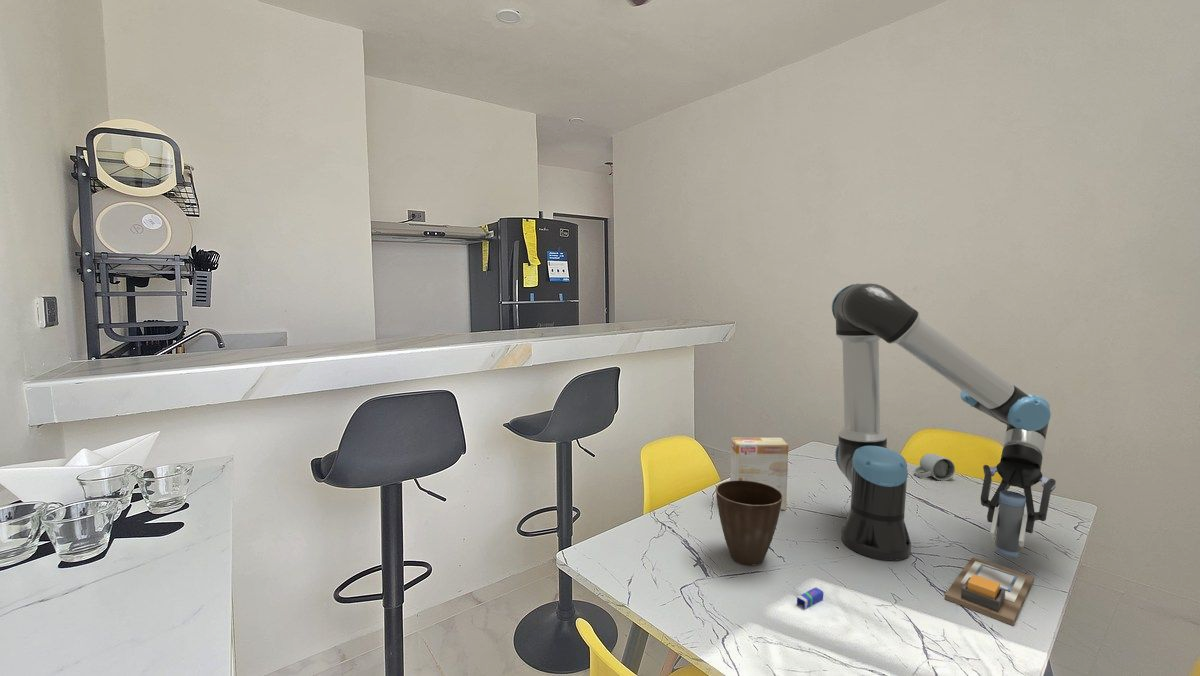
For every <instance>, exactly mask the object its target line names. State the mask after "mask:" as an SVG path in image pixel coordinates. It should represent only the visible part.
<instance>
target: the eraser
mask: <svg viewBox="0 0 1200 676" xmlns="http://www.w3.org/2000/svg"><path fill="white" fill-rule="evenodd" d="M824 594H825V593H824V591H823V590H821V589H819V588H818V587H813V588H811V589H810V590H808V591H805V592H804V593H801V594H800V595H797V596H796V604H797V605H800V604H802V603H803V610H806V609H808V608H810V607H812V606H813V605H814V604H817V603H819V602H821V601H823V600H824ZM818 601H819V602H818ZM816 602H817V603H816Z"/></svg>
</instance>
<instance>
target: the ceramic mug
mask: <svg viewBox="0 0 1200 676" xmlns="http://www.w3.org/2000/svg"><path fill="white" fill-rule="evenodd" d="M920 471H923V472H921V473H918V472H920ZM955 472H956V467H955V463H953V461H952V460H951V459H950V458H947V457H945V456H941V455H939V454H936V453H925V454H924V455H923V456H921V458H920V460H919V466H917V467H915V468H914V469H913V473H914V475H915V477H917V478H928V477H932V478H934V479H935V480H937V481H940V480H941V482H947V481H949V480H950V479H952V478H953V476H954V474H955Z"/></svg>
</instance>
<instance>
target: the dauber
mask: <svg viewBox="0 0 1200 676" xmlns="http://www.w3.org/2000/svg"><path fill="white" fill-rule="evenodd" d="M999 501H1000V502H999V506H998V508H999V514H998V524H997V530H996V535H995V546H996V547H995V552H996V553H997V554H999V555H1001V556H1003V557H1007V558H1011V559H1016V558H1019V555H1020V554H1019V553H1020V551H1021V546H1019V536H1020V531H1021V525H1022V519H1023V515H1024V514H1025V508H1026V496H1025V494H1022V493H1019V492H1015V491H1012V490H1007V491H1000V496H999Z"/></svg>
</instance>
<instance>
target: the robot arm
mask: <svg viewBox="0 0 1200 676" xmlns="http://www.w3.org/2000/svg"><path fill="white" fill-rule="evenodd" d="M831 312H832V315H833V318H834V319H835V336H836V337H837V338H839V339H840V340H841V342H842V372H843V373H842V375H843V376H842V377H843V379H842V380H843V414H844V416H843V420H844V422H843V424H844V427H843V428H842V429H841V430H840V431H839V432H838V443H837V445H836V448H835V450H834V451H835V461H836V462H835V463H836V464H837V466H838V468H839V470H840V472H841V473H842V474H843V475H844V476H845V478H846V479H847V481H848V482H849V483H850V485H851V492H850V493H851V495H850V509H849V512H848V514H847V517H846V518H845V521H844V524H843V526H842V529H841V537H840V539H841V541H842V543H843V544H844V545H845V546H846V547H847V548H849V550H850V549H851V550H852V551H853V552H856V553H858V554H860V555H863V556H866V557H868V558H873V559H876V560H882V561H901V560H906V559H907V558H909V557H910V556H911V553H912V552H911V550H912V542H911V539H910V536H909V532H908V529H907V526H906V523H905V513H906V512H905V509H906V498H907V497H906V496H907V485H908V484H907V482H908V477H909V469H908V462H907V461H906V458H905V457H904V456H903V455H902V454H900V453H899V452H897V451H895V450H891V448H888V443H887V442H888V439H887V438H888V436H887V435H886V433H884V431H882V430H881V411H880V409H881V406H880V405H881V403H880V402H881V401H880V397H881V396H880V395H881V394H880V348H879V347H880V345H879V344H880V343H879V341H880V340H881V339H882V340H883V341H885V342H886V343H888V344H891V345H892V344H896V345H898V346H899V347H900V348H902V349H903V350H904V351H906V352H908V353H909V354H910V355H912V356H913V357H914V358H916V359H918V360H919V361H920V362H921V363H923V364H925V365H926V366H927V367H929V368H930V369H931V370H933V371H934V372H936V373H937V374H939V376H941V377H943V378H944V379H946V380H947V381H949V382H950V383H951V384H953V385H954V386H955V387H957V388H958V389H960V390H961V391H960V398H961V400H962V401H963V402H964V403H966V404H968V405H969V406H970V407H972V408H975V409H976V410H978V411H979V412H982V413H984V414H986V415H988V416H989V417H991V418H993V419H995V420H997V421H999V422H1000V423H1003V424H1004V425H1006V431H1005V437H1004V441H1003V448H1002V451H1001V456H1000V460H999V462H998V463H997V465H996V466H990V465H988V464H984V465H983V466H982V468H983V470H982V471H983V474H984V478H983V482H982V488H981V495H980V504H981V506H983V507H986V508H988V510H987V515H986V518H987V520H986V521H987V522H988V523H991V527H990V531H989V534H990V535H989V537H990V538H991V539H994V540H996V533H997V524H998V514H999V502H1000V501H999V496H1000V491H1009V490H1010V487H1018V488H1020V489H1023V495H1024V496H1026V503H1025V509H1026V513H1027V514H1026V513H1024V515H1023V519H1022V525H1021V531H1020V536H1019V546H1020V548H1024V546H1025V542H1026V541H1025V540H1026V534H1027V533H1029V534H1032V533H1033V531H1034V527H1035V522H1036V521H1041V522H1045V521H1046V520H1047V515H1048V511H1049V510H1048V509H1049V505H1050V499H1051V493H1052V492H1053V491H1054V490H1055V488H1056V483H1057V482H1056V481H1057V480H1056V479H1054V478H1047V477H1045V476H1043V473H1042V472H1041V470H1042V464H1043V458H1044V457H1043V456H1044V451H1045V445H1046V439H1047V433H1048V427H1049V422H1050V419H1051V415H1052V413H1051V406H1050V403H1049V402H1048V401H1047V400H1046V399H1045V398H1043V397H1042V396H1041V395H1034V394H1032V393H1026V392H1025V391H1023V390H1021V389H1020V388H1019V387H1017V386H1015V385H1014V384H1013V383H1011V382H1010V381H1008V380H1007V379H1006V378H1004V377H1003V376H1001V375H1000V374H999V373H997V371H995V370H993V369H992V368H990V367H989V366H987V365H986V364H985V363H983V362H982V361H980V360H979V359H978V358H977V357H975V356H973V355H972V354H970V352H968V351H967V350H965V349H963V348H962V347H960V346H959V345H958V344H957V343H955V342H954V341H952V340H951V339H949V338H948V337H946V336H945V335H943V333H941V332H939V331H938V330H937V329H935V328H934V327H932V325H929V324H928V323H927V322H926V321H924V320H922V319H921V317H920V312H919V311H918V310H917V309H915V308H913V307H912V306H910V305H909V304H908V303H907V302H906V301H905V300H903V299H901V297H899V296H898V295H896V294H895V293H894V292H893V291H892V290H890V289H888V288H887V287H886V286H883V285H880V284H878V283H870V282H869V283H853V284H852V283H851V284H850V285H847V286H845V287H843V288H842V289H840V290H839V291H838V292H837V293H836V294H835V296H834V297H833V300H832V303H831ZM996 473H998V475H999V476H1000V479H1001V481H1000V484H999V485H998V486H997V489H996V491H995V492H994V494H993V495H992V498H991V499H989V497H990V492H991V488H992V487H991V485H992V480H993V478H992V477H994V476H995V475H996ZM1039 482H1041V486H1042V488H1043V489H1042V495H1041V498H1040V505H1039V510H1038V511H1035V505H1034V500H1033V493H1032V492H1033V491H1032V487H1033V486H1034V485H1036V484H1037V483H1039Z"/></svg>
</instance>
